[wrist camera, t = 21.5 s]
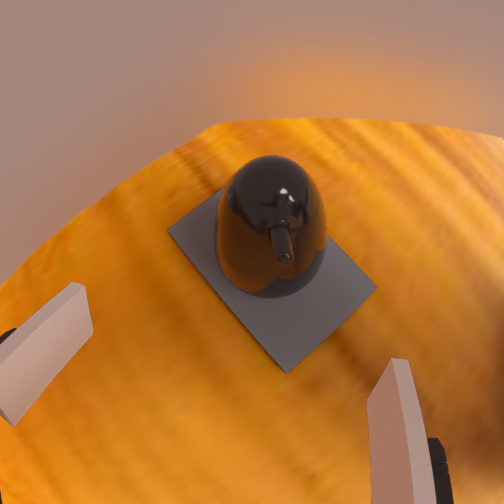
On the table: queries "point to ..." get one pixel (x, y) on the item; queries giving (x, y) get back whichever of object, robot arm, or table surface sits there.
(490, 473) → the table surface
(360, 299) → the mat
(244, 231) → the pump dispenser
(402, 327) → the table surface
